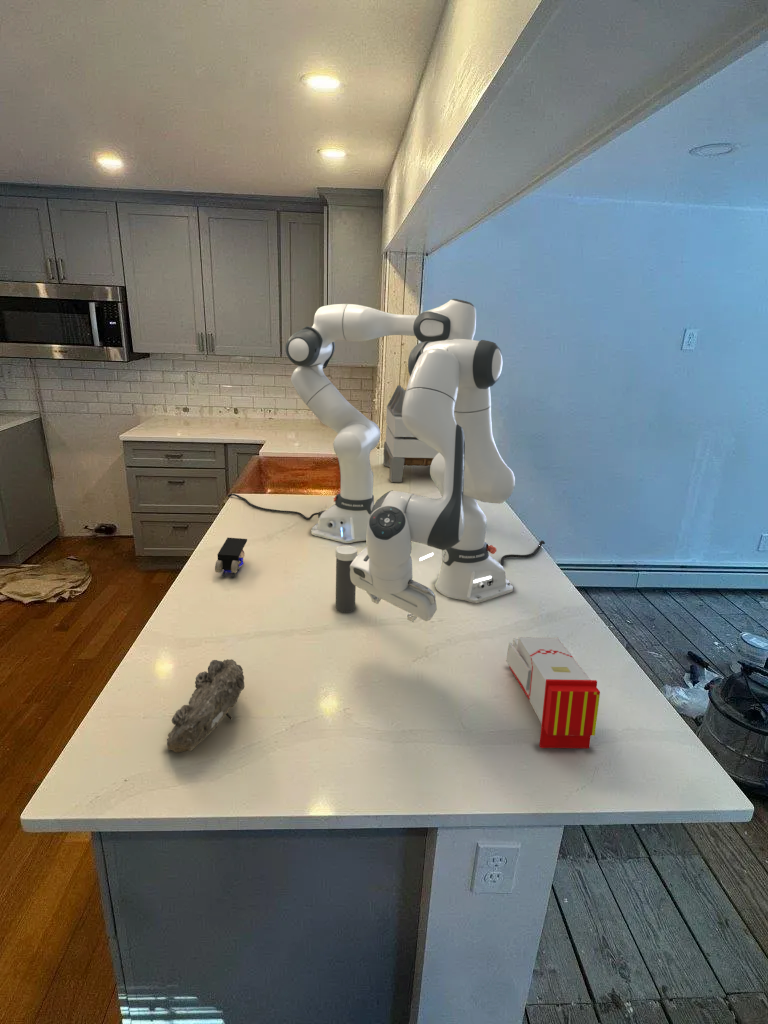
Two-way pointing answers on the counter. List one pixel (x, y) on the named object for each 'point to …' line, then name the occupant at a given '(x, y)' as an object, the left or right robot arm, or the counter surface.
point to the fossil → (206, 705)
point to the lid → (346, 553)
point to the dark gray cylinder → (344, 587)
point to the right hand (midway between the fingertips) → (394, 609)
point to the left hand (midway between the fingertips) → (454, 403)
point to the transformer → (402, 441)
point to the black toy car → (230, 556)
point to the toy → (555, 691)
